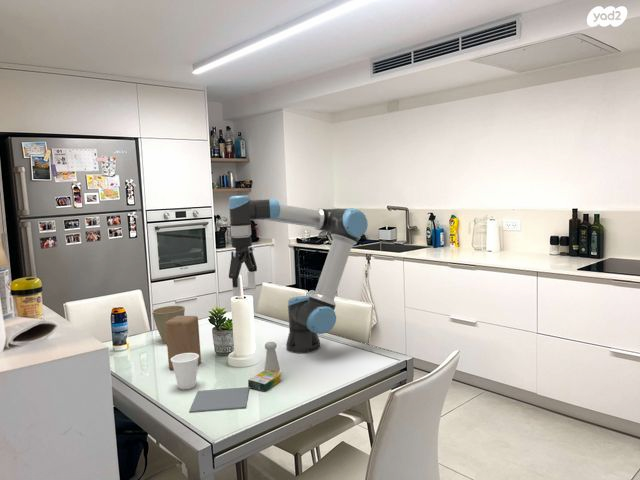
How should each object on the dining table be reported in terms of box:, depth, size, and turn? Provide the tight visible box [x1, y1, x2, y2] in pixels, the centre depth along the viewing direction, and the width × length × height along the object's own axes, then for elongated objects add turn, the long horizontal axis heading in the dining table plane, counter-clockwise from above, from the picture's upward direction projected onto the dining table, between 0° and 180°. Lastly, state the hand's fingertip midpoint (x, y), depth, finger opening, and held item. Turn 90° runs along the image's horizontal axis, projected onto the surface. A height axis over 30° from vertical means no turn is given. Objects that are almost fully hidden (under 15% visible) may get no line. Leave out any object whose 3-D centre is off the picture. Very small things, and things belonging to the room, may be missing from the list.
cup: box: [171, 353, 199, 390], centre depth 175 cm, size 10×10×11 cm
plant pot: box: [151, 305, 185, 345], centre depth 231 cm, size 15×15×16 cm
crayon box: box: [247, 370, 283, 392], centre depth 174 cm, size 7×3×12 cm
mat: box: [188, 386, 250, 413], centre depth 162 cm, size 18×16×1 cm
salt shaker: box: [263, 341, 281, 373], centre depth 181 cm, size 6×6×13 cm
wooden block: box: [166, 315, 202, 370], centre depth 196 cm, size 10×10×20 cm
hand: (244, 291), depth 184 cm, fingers open, 13 cm apart
